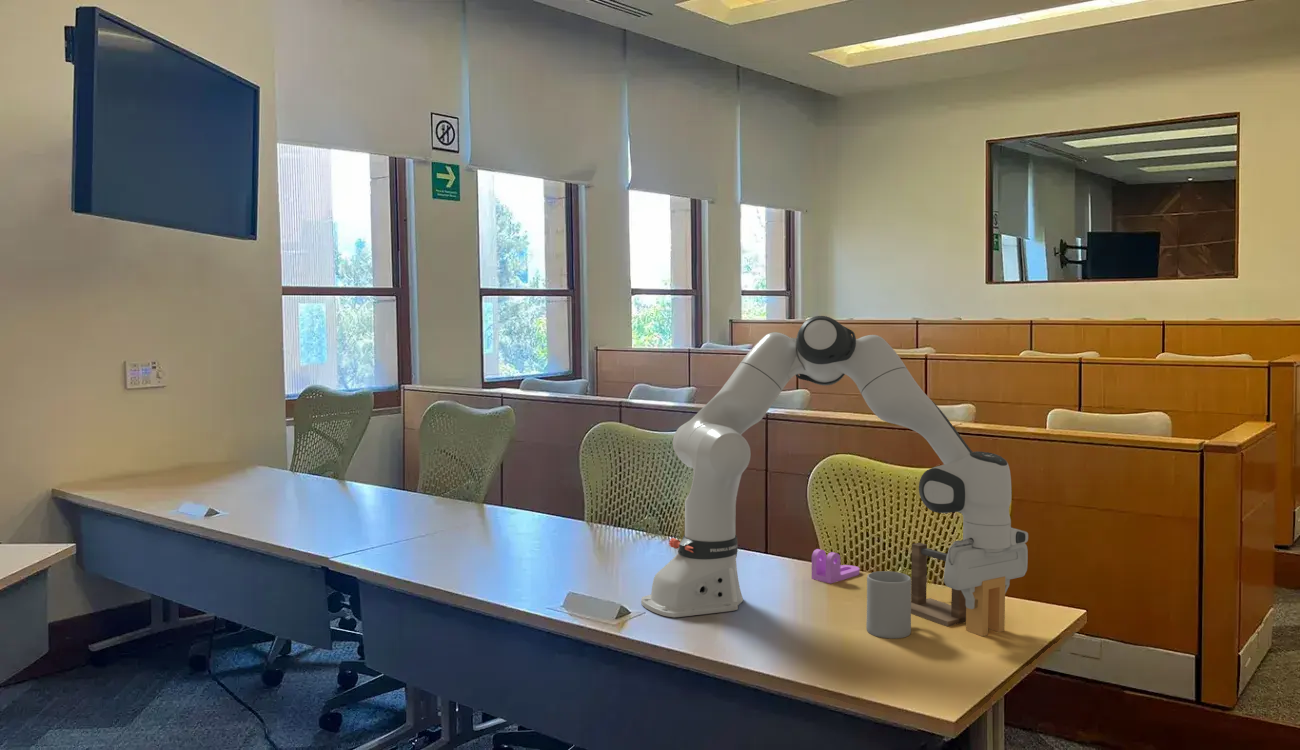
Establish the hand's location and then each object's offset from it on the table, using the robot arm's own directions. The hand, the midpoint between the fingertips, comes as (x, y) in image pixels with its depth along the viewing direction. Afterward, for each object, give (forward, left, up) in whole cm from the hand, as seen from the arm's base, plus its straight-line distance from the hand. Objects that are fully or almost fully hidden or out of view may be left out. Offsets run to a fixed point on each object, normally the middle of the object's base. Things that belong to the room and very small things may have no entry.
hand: (985, 604), depth 186 cm
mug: (-15, +10, -5) cm, 19 cm away
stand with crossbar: (0, +12, -5) cm, 13 cm away
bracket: (+2, +45, -6) cm, 45 cm away
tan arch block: (0, 0, -5) cm, 5 cm away
